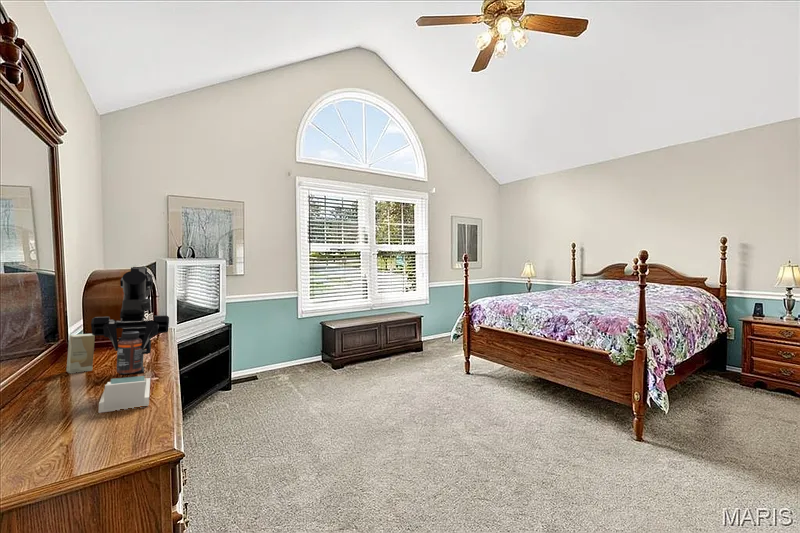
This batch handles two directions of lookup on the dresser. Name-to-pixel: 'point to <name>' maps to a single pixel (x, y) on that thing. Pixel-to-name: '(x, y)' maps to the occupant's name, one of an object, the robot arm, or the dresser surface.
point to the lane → (125, 395)
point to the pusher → (127, 379)
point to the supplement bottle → (129, 353)
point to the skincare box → (80, 353)
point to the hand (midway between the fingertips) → (129, 349)
